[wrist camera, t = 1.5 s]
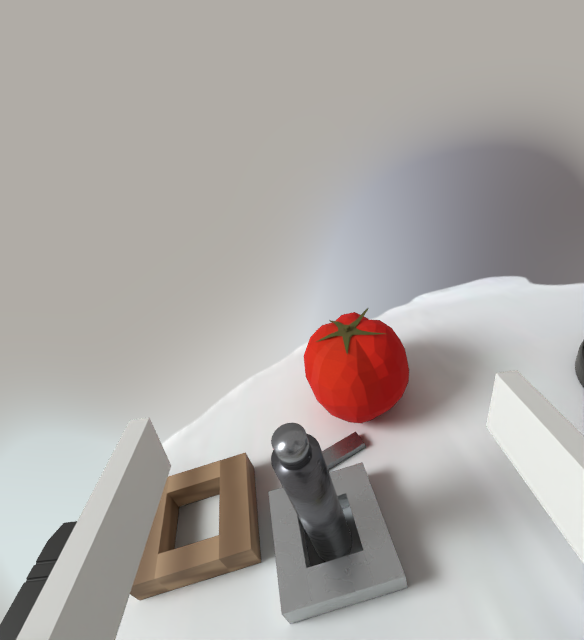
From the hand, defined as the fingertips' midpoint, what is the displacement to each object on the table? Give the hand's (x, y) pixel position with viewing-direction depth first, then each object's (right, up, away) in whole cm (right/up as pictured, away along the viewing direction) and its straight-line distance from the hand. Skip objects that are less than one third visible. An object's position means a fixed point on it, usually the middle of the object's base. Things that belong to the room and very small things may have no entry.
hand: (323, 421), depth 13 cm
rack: (-11, -18, +23) cm, 31 cm away
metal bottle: (+3, -17, +19) cm, 25 cm away
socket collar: (+3, -17, +19) cm, 25 cm away
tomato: (+8, -6, +31) cm, 33 cm away
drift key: (+3, -12, +25) cm, 28 cm away
